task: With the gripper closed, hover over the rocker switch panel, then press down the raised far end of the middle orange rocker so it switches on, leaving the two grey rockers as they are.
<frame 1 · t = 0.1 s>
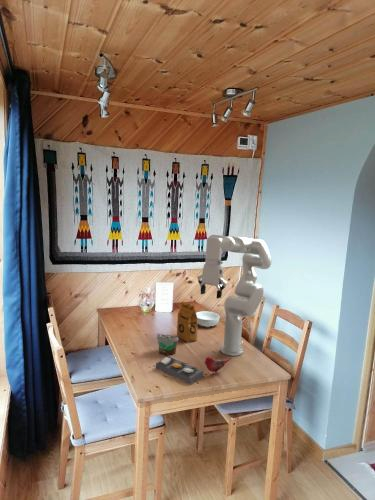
hand: (210, 295, 186), 37 cm above the table, tool pointing down, fingers open, 9 cm apart
rocker 2: (188, 370, 175), point 4 cm above the table, hinge at -15.0°
rocker switch panel: (179, 372, 182), on the table
food container: (165, 354, 202), on the table
rocker 1: (165, 361, 184), point 4 cm above the table, hinge at 15.0°
decorative bird figurine: (217, 373, 183), on the table
cereal bowl: (206, 325, 250), on the table
middle rocker: (176, 365, 180), point 4 cm above the table, hinge at -15.0°
coffee package: (186, 339, 224), on the table
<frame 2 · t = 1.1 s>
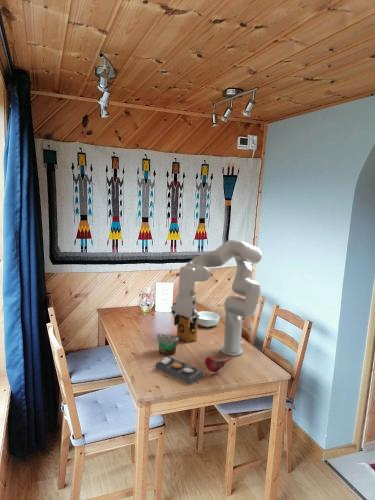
hand: (184, 327, 180), 23 cm above the table, tool pointing down, fingers open, 9 cm apart
nothing on the table moved.
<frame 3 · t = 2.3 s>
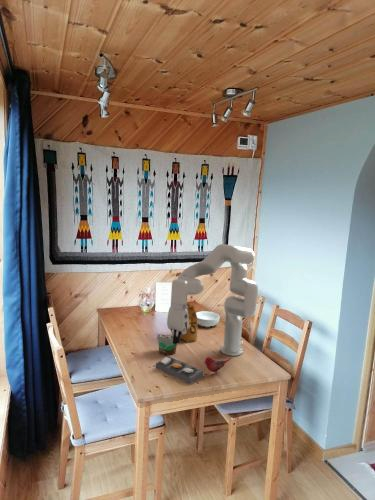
hand: (176, 343, 177), 16 cm above the table, tool pointing down, fingers closed
nothing on the table moved.
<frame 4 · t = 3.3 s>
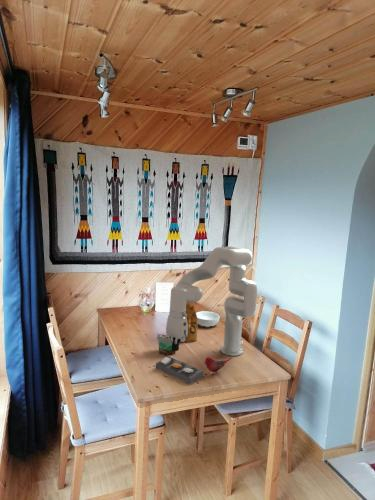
hand: (175, 350, 177), 12 cm above the table, tool pointing down, fingers closed
nothing on the table moved.
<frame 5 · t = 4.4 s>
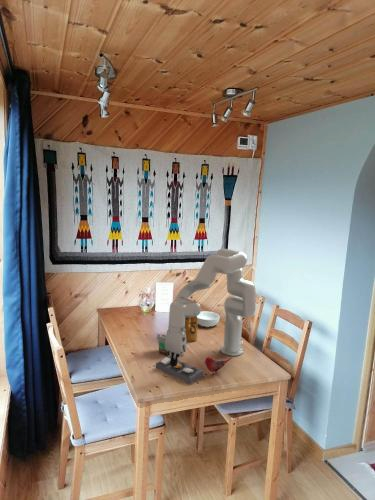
hand: (173, 365, 178), 5 cm above the table, tool pointing down, fingers closed
middle rocker: (176, 365, 180), point 4 cm above the table, hinge at -12.5°, touching gripper
everything else where it was.
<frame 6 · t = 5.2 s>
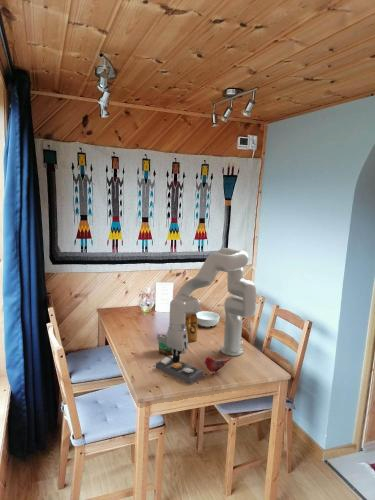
hand: (176, 362, 179), 6 cm above the table, tool pointing down, fingers closed
middle rocker: (176, 365, 180), point 4 cm above the table, hinge at -4.2°
everything else where it was.
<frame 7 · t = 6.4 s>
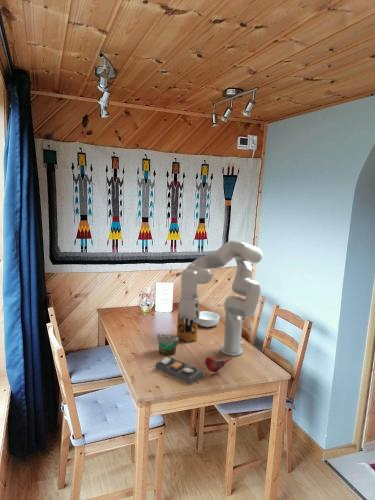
hand: (188, 331, 181), 20 cm above the table, tool pointing down, fingers closed
middle rocker: (176, 365, 180), point 4 cm above the table, hinge at 4.8°
everything else where it was.
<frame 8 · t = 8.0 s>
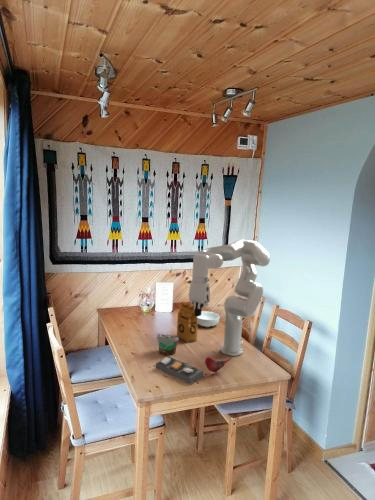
hand: (197, 315, 184), 27 cm above the table, tool pointing down, fingers closed
middle rocker: (176, 365, 180), point 4 cm above the table, hinge at 13.9°
everything else where it was.
at the end: middle rocker at +15° (first picture: -15°); rocker 1 at +15° (first picture: +15°); rocker 2 at -15° (first picture: -15°) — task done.
